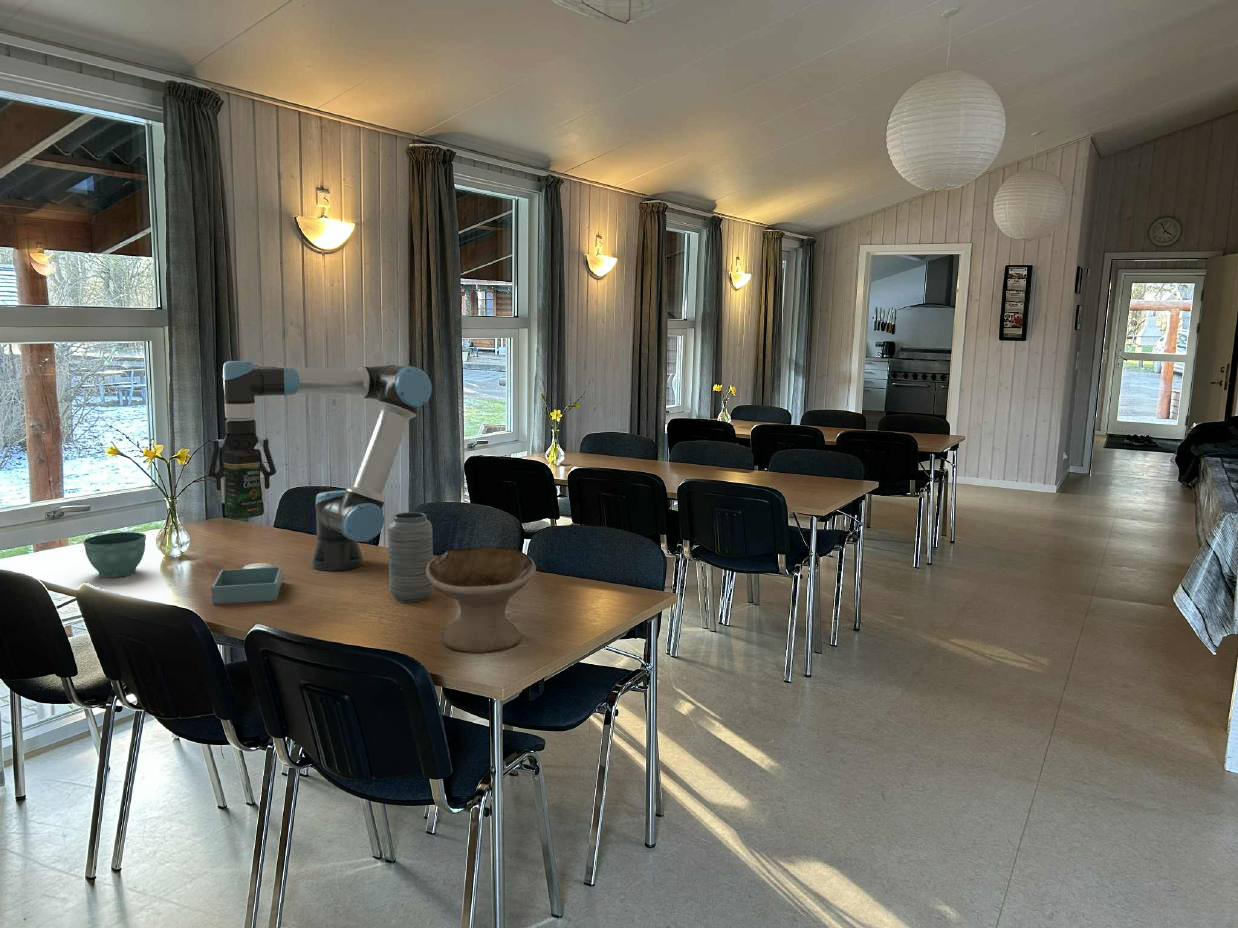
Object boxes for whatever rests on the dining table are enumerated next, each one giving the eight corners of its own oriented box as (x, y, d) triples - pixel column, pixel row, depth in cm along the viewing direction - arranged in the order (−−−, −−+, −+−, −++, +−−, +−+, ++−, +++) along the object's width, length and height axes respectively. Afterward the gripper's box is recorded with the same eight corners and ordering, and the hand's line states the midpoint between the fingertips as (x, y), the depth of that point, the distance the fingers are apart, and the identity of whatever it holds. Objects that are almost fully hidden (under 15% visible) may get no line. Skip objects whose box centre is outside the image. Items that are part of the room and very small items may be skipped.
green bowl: (82, 583, 263) (80, 546, 261) (88, 569, 278) (86, 534, 276) (146, 578, 270) (144, 541, 268) (149, 564, 284) (147, 530, 283)
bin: (281, 582, 267) (281, 566, 266) (276, 600, 250) (276, 583, 249) (221, 585, 263) (221, 569, 262) (212, 604, 246) (211, 587, 245)
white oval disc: (274, 573, 277) (273, 562, 276) (271, 580, 269) (271, 569, 269) (245, 575, 275) (244, 563, 274) (242, 582, 267) (241, 570, 267)
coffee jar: (237, 521, 247) (233, 451, 244) (220, 517, 252) (217, 449, 249) (269, 515, 255) (266, 448, 252) (253, 511, 259) (250, 445, 257)
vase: (386, 594, 257) (384, 512, 253) (428, 590, 261) (427, 509, 258) (393, 606, 246) (391, 520, 243) (437, 601, 251) (436, 517, 247)
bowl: (404, 650, 213) (403, 565, 210) (461, 618, 236) (460, 542, 233) (504, 666, 204) (504, 577, 201) (553, 631, 227) (553, 552, 224)
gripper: (285, 417, 256) (288, 497, 259) (197, 418, 250) (202, 500, 253) (283, 419, 249) (286, 502, 252) (193, 421, 243) (197, 505, 246)
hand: (244, 501), depth 253 cm, fingers closed on coffee jar, 9 cm apart
